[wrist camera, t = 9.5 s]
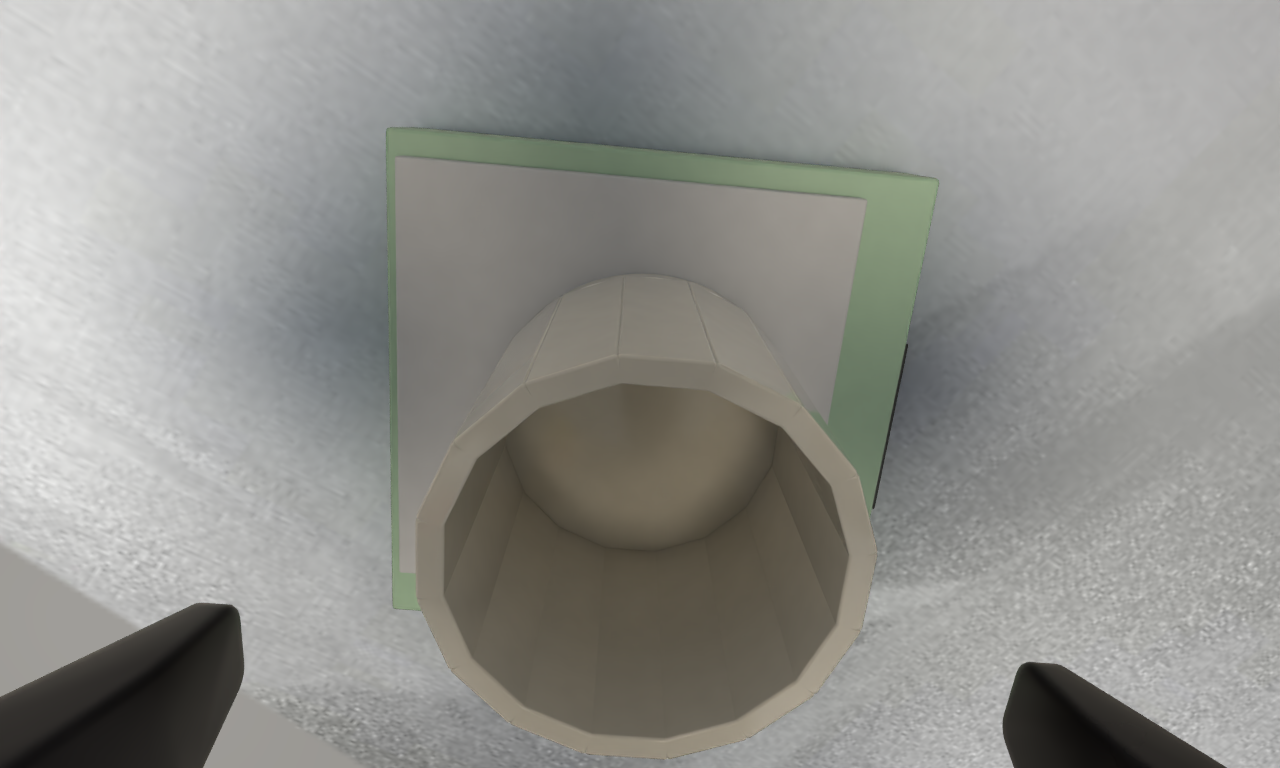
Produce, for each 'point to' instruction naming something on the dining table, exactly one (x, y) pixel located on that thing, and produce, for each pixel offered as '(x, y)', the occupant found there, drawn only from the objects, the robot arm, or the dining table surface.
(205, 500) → the dining table surface
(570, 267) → the scale
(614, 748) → the ramekin
